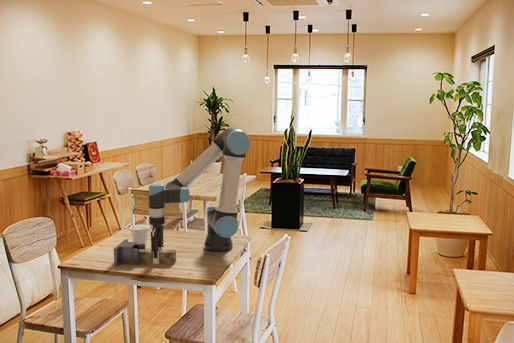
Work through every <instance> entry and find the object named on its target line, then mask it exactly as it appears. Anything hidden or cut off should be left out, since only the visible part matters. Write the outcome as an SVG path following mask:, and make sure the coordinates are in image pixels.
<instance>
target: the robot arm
mask: <svg viewBox="0 0 514 343" xmlns="http://www.w3.org/2000/svg"><path fill="white" fill-rule="evenodd" d="M250 147H251V139H250V137H249V135H248V134H247V133H246V132H245V131H244V130H242V129H237V128H234V127H228V128H226V129H224V130H223V131H222V132H221V133H219V134H218V135H217V136H216V137H215V138H214V139H213V140H212V141H211V144H210V145H209V147H208V148H206V149H205V150H204V151H203V152H202V153H201V154H200V155H199V156H198V157H197V158H195V160H193V161H192V162H191V163H190V164H189V165H188V166H187V167H186V168H184V169H183V171H181V173H179V175H177V176H176V177H175V178H174V179H173V180H171V181H168V182H167V183H166V184H165V185H164V184H163V183H151V184H150V185H149V186H148V209H147V211H148V216H149V217H148V224H149V225H151V226H152V228H151V231H150V243H151V244H150V245H151V246H150V247H151V251H153V263H152V265H153V264H154V265H159V251H158V250H163V248H164V247H165V246H164V225H165V223H166V217H165V215H166V211H165V210H166V207H165V204H183V203H184V204H185V203H188V202H189V201H190V197H191V196H190V194H191V193H190V189H189V186H190V185H191V184H192V183H193V182H194V181H196V180H197V179H198V178H199V177H201V175H202V174H203V173H204V172H206V170H208V169H209V168H210V167H211V166H212V165H213V164H214V163H215V162H216V161H217V160H219V159H220V158H221V157H222V156H223V158H224V165H223V170H222V179H221V186H220V195H219V200H218V204H214V205H208V206H207V208H206V217H207V218H206V219H207V220H206V222H207V223H206V224H207V225H206V227H207V228H206V230H207V233H206V236H205V240H204V244H203V248H204V249H205V250H206V251H210V252H225V251H226V250H227V251H230V250H232V249H233V240H232V237H233V236H234V235H235V234H237V232H238V230H239V226H240V225H239V220H238V214H239V210H238V209H237V199H238V191H239V187H240V186H239V185H240V179H241V178H240V177H241V171H242V163H243V161H244V160H245V159H246V158H247V152H248V151H249V149H250ZM227 251H226V252H227Z"/></svg>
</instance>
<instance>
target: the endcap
mask: <svg viewBox="0 0 514 343" xmlns="http://www.w3.org/2000/svg"><path fill="white" fill-rule="evenodd" d="M140 249H146V246H145V244H137V242H133V241H129V238H128V239H124V240H122V241H121V242H120V243H119V244H117V245H116V246H115V247H114V248H113V263H114V266H116V267H118V266H119V265H120V264H131V265H136V266H137V265H138V266H140V264H141V263H140V257H139V250H140Z"/></svg>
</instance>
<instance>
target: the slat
mask: <svg viewBox="0 0 514 343" xmlns="http://www.w3.org/2000/svg"><path fill="white" fill-rule="evenodd" d="M158 251H159V264H162V265H175V264H176V262H177V250H176V249H162V250H158ZM139 257H140V264H153V251H151V249H149V248H147V249H146V248H145V249H140V250H139ZM159 264H158V265H159Z"/></svg>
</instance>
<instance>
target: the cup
mask: <svg viewBox="0 0 514 343" xmlns="http://www.w3.org/2000/svg"><path fill="white" fill-rule="evenodd" d="M149 228H150V226H149V225H147V224H135V225H134V224H133V225H131V226H130V227H129V229H130V232H131V237H132V242H137V244H145V247H147V242H148V241H147V240H148V234H149Z"/></svg>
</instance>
